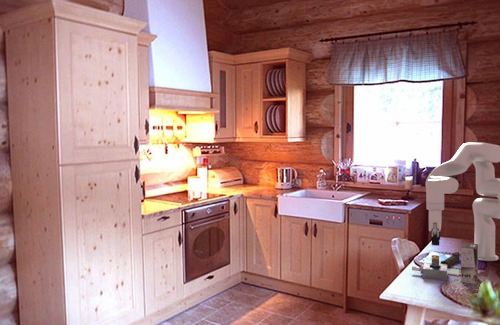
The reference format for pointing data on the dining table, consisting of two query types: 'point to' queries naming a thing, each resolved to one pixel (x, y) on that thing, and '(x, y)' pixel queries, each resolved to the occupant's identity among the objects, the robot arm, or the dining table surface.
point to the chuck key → (435, 261)
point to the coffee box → (469, 263)
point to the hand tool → (451, 259)
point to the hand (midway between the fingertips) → (436, 242)
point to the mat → (453, 271)
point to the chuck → (432, 271)
